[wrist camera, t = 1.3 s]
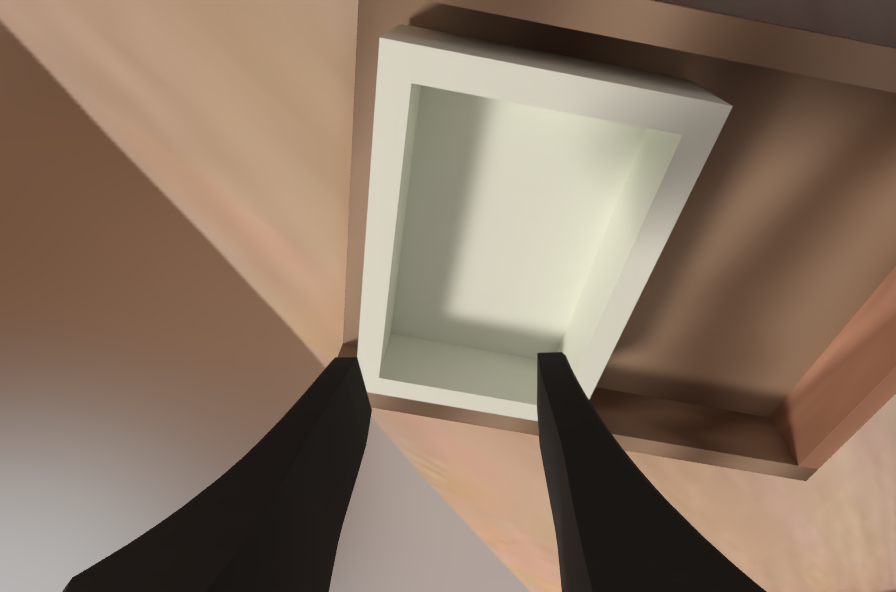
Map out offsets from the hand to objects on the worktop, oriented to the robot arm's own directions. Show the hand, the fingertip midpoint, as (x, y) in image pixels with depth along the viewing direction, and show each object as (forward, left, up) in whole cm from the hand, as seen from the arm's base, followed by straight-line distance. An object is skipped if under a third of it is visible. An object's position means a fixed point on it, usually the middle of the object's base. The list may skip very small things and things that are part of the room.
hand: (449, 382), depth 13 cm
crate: (-1, 0, -9) cm, 9 cm away
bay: (-7, 0, -10) cm, 13 cm away
